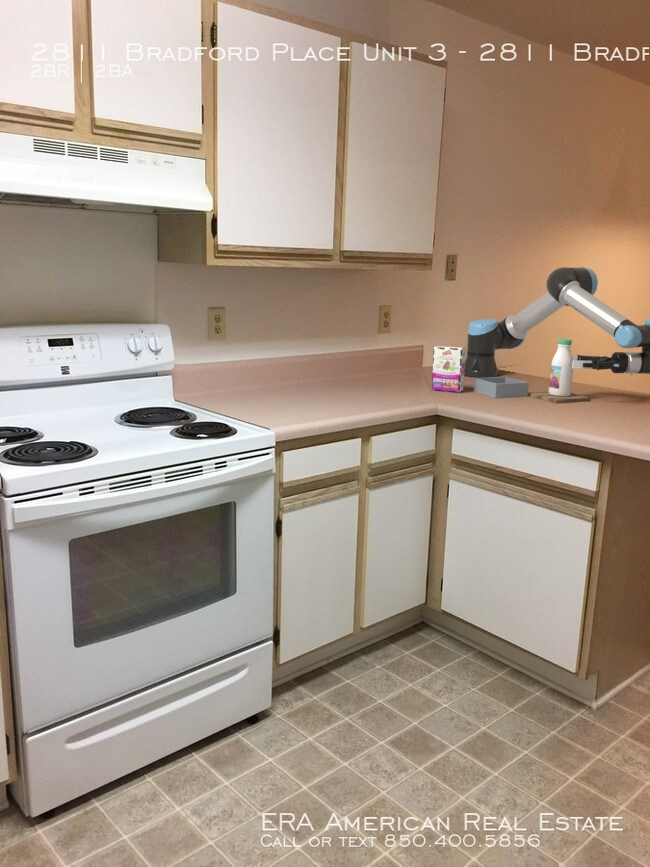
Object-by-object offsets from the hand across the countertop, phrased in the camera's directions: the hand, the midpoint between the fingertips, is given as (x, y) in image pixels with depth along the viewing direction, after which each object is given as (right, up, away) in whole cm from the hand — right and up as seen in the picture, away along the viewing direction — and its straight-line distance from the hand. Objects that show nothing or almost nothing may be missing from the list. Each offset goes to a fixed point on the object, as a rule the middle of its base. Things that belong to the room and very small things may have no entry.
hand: (565, 361), depth 258 cm
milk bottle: (-1, -12, +4) cm, 12 cm away
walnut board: (-1, -13, +4) cm, 13 cm away
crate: (-21, -11, +11) cm, 26 cm away
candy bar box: (-40, -10, +15) cm, 43 cm away
